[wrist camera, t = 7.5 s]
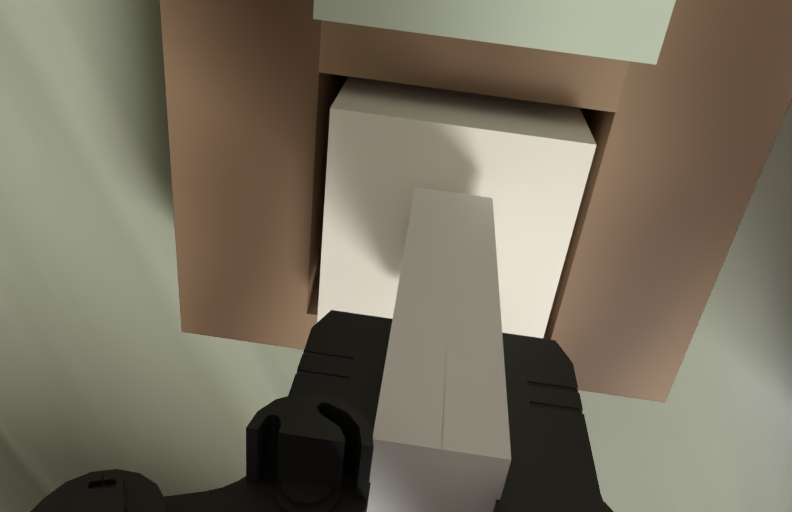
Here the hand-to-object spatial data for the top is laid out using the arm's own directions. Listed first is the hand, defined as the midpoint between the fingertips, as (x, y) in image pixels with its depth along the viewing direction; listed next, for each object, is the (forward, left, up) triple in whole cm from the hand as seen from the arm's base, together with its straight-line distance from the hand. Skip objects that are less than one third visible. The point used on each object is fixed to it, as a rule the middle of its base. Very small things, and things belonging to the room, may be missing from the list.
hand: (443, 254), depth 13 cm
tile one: (0, 0, -4) cm, 4 cm away
